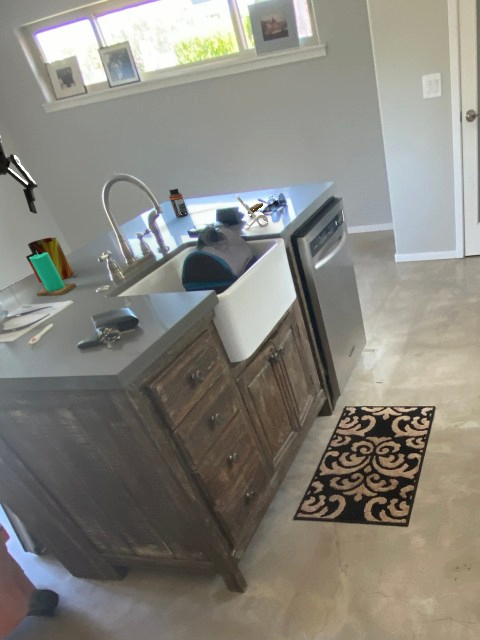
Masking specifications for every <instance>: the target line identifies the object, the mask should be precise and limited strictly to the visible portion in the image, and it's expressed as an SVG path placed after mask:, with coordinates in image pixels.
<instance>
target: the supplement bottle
mask: <svg viewBox="0 0 480 640" xmlns="http://www.w3.org/2000/svg"><path fill="white" fill-rule="evenodd" d="M168 191H169V195H168V196H169V200H170V204H171V205H172V209H173V212H174V215H175V217H176V218H182V217H186V216H188V214H189V212H188V208H187V205H186V203H185V199H184V197H183V196H184V195H183V194H182V193H181V192H179V188H178V187H172V188H169V189H168ZM185 213H186V214H185ZM181 214H182V215H181Z"/></svg>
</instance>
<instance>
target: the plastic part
mask: <svg viewBox="0 0 480 640" xmlns="http://www.w3.org/2000/svg"><path fill="white" fill-rule="evenodd" d="M235 198H236V199H237V200H238V202H239V203H240V204H241V205H242V206H243V207H244V208H245V210H246V211H247V213H248V212H249V213H250V214H251V215H252V217H251V218H252V220H251V221H249V222H248V223H245V227H244V230H246V231H248V230H249V229H250V228H251V227H252V226H253V225H254V224H255V223H257V224H258V225H259V226H261V227H263V228H264V227H267V226H268V225H269V219H268V217H267V216H266V215H265V214H264V212H260V211H257V212H255V213H253V212H252V211H251V210H250V207H249V206H248V205H246V203H244V201H243V200H242V198H240V195H238V194H236V195H235ZM260 219H262V220H260ZM263 220H264V221H266V222H268V223H266V222H264V221H263ZM259 222H260V223H259ZM247 225H248V226H249V227H248V226H247Z"/></svg>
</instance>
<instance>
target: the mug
mask: <svg viewBox="0 0 480 640" xmlns="http://www.w3.org/2000/svg"><path fill="white" fill-rule="evenodd" d="M27 246H28V248H29V250H30V252H31V254H28V255H26V256H25V258H26V260H27V261H28V264H29V265H30V267H31V269H32V271H33V273H34V275H35V277H36V278H37V281H38V282H39V283H40V284H43V282H42V281H41V279H40V277H39V275H38V273H37V271H36V270H35V268H34V266H33V264H32V262H31V260H30V258H29V257H32V256H34V255H40V254H43V253H48V254H49V256H50V258H51V260H52V262H53V264H54V266H55V267H56V269H57V271H58V273H59V275H60V277H61V279H62V280H64V279H68V278H70V277H72V276H73V275H74V274H75V273H74V270H73V269H72V266H71V265H70V262H69V261H68V258H67V257H66V255H65V252H64V250H63V248H62V246H61V244H60V242H59V241H58V238H57V237H55V236H54V237H45V238H40V239H37V240H34V241H31V242H29V243H28V244H27ZM36 251H37V252H36ZM37 253H38V254H37Z"/></svg>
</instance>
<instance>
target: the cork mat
mask: <svg viewBox="0 0 480 640" xmlns="http://www.w3.org/2000/svg"><path fill="white" fill-rule="evenodd" d="M64 285H65V286H64V287H63V288H61V289H58V290H54V291H47V290H46V288H45V287H44V288H43V289H40V290H39V291H37V292H36V296H37V297H43V296H62V295H65V294H66V293H67V292H69V291H71V290H73V289H74V288H76V287H77V284H76V283H75V282H73V283H72V282H71V283H64Z"/></svg>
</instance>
